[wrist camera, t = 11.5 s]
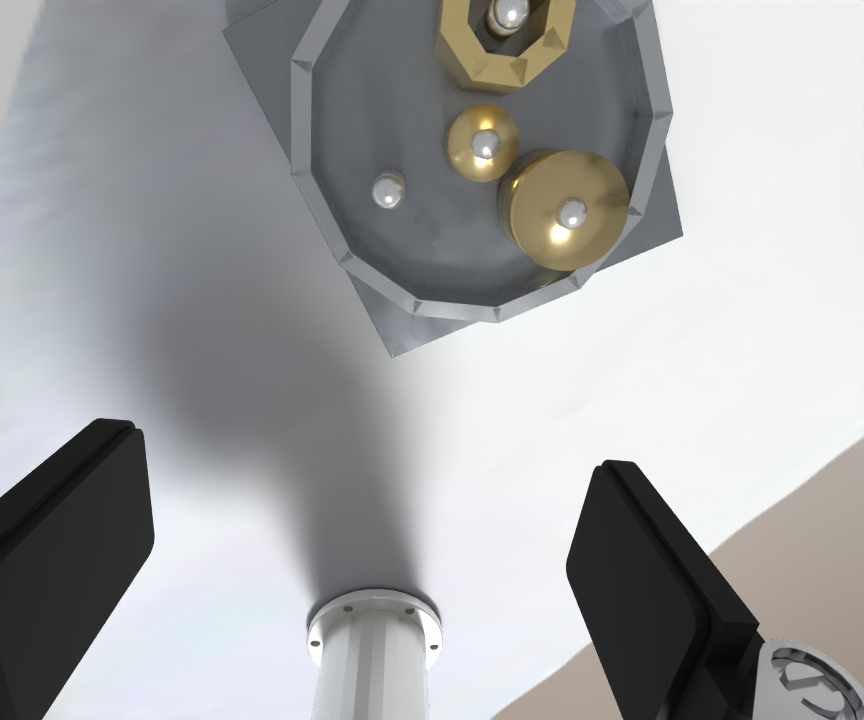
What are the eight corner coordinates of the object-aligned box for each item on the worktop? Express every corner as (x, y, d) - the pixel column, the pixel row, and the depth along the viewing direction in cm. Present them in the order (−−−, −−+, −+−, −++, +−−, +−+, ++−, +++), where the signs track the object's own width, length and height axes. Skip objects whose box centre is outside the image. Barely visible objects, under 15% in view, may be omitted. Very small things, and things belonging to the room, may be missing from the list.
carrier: (671, 231, 31) (742, 256, 25) (392, 349, 34) (388, 400, 27) (589, -156, 23) (662, -273, 17) (231, 36, 26) (170, 0, 19)
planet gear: (554, -26, 24) (589, -64, 20) (532, 100, 26) (558, 92, 22) (443, -44, 24) (452, -88, 19) (430, 86, 26) (435, 75, 21)
